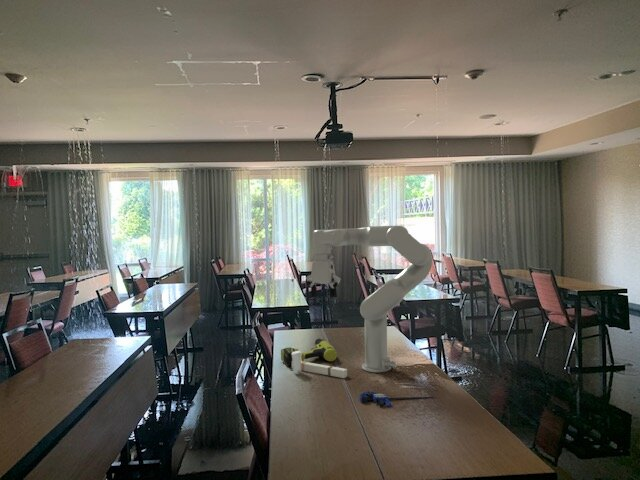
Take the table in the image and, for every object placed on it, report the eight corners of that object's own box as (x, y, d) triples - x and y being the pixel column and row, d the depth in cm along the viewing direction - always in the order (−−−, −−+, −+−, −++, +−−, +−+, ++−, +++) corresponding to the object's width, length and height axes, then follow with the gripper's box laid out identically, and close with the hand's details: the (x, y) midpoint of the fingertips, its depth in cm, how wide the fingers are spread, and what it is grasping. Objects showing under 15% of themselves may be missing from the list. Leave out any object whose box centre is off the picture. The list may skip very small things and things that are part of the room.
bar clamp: (363, 402, 147) (358, 391, 157) (363, 409, 147) (357, 398, 157) (457, 400, 150) (446, 389, 160) (456, 407, 150) (445, 396, 160)
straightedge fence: (347, 376, 179) (347, 368, 179) (344, 378, 177) (343, 370, 177) (295, 366, 193) (294, 359, 193) (291, 368, 191) (291, 361, 190)
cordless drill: (275, 352, 215) (324, 347, 222) (285, 369, 191) (340, 363, 198) (275, 338, 215) (324, 333, 222) (285, 353, 191) (339, 348, 198)
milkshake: (295, 370, 188) (295, 346, 188) (305, 372, 185) (304, 348, 185) (288, 372, 185) (287, 349, 185) (297, 375, 182) (297, 351, 181)
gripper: (343, 257, 192) (344, 296, 193) (310, 256, 201) (311, 294, 202) (335, 258, 186) (336, 299, 186) (301, 258, 195) (302, 296, 195)
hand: (323, 296), depth 194 cm, fingers open, 9 cm apart
